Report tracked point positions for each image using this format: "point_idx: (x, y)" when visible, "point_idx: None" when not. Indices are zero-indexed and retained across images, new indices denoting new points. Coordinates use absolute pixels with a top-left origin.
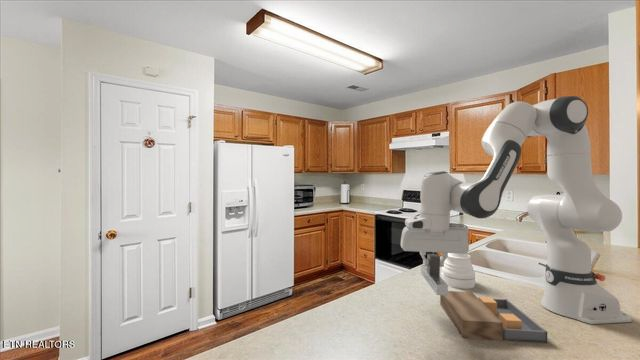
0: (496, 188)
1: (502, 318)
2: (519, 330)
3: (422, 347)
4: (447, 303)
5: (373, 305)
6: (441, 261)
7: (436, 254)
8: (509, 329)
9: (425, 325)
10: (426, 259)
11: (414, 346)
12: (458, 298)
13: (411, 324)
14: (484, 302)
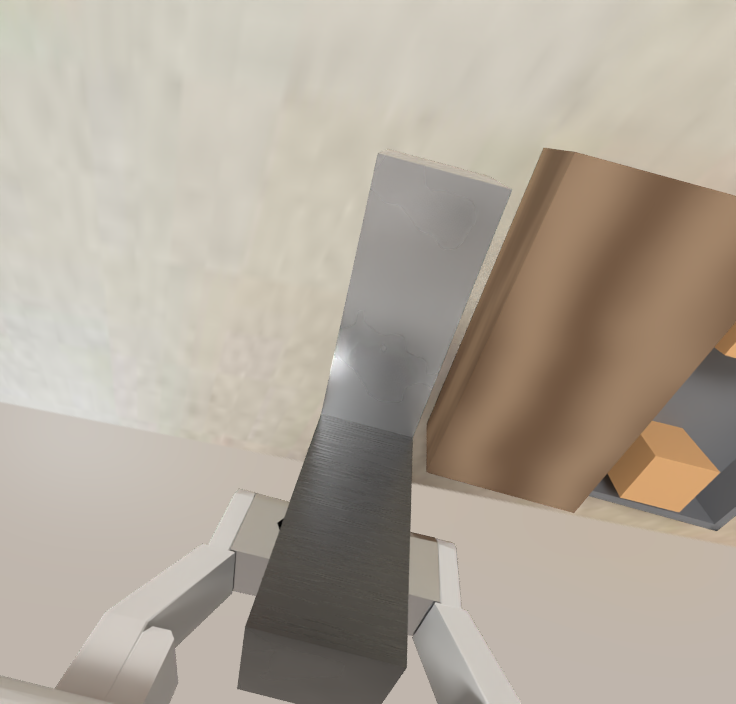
0: None
1: (634, 468)
2: (623, 504)
3: (271, 432)
4: (499, 299)
5: (119, 97)
6: (408, 632)
7: (380, 675)
8: (592, 493)
9: (333, 335)
10: (244, 568)
11: (248, 424)
12: (595, 301)
13: (279, 319)
14: (726, 354)
